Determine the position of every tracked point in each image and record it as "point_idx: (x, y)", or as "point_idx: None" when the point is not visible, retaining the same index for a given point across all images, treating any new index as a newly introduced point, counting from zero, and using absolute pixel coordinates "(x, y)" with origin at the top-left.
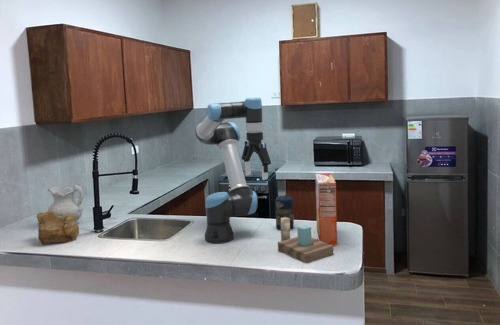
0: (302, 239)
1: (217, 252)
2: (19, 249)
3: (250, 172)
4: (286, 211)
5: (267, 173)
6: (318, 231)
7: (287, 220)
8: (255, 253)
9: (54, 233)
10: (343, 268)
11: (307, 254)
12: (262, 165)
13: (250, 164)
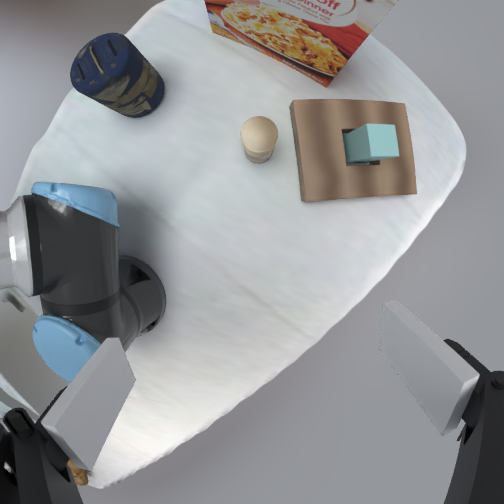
0: (377, 159)
1: (223, 338)
2: (97, 483)
3: (112, 354)
4: (143, 77)
5: (423, 325)
6: (281, 52)
7: (277, 134)
8: (285, 263)
9: (84, 477)
10: (454, 151)
11: (415, 187)
12: (463, 432)
13: (72, 401)
